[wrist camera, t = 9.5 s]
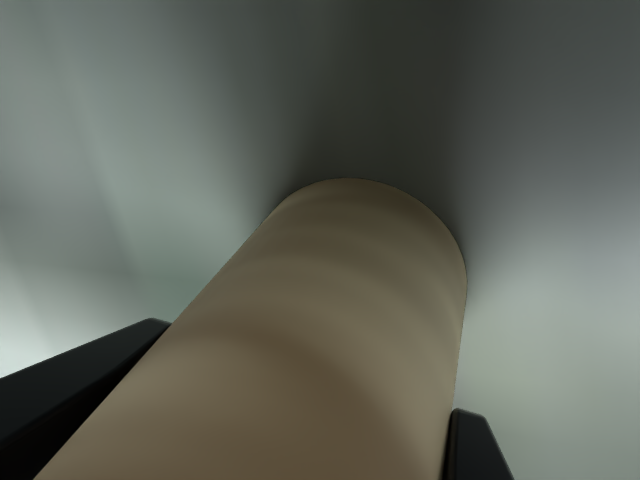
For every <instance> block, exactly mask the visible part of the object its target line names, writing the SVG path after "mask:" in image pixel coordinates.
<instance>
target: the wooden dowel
mask: <svg viewBox="0 0 640 480" xmlns="http://www.w3.org/2000/svg"><path fill="white" fill-rule="evenodd" d="M466 295H467V276H466V268H465V264H464V261H463V257H462V254H461V252H460V250H459V247H458V245H457V243H456V241H455V239H454V238H453V236H452V234H451V233H450V231H449V230H448V228H447V227H446V226H445V225H444V223H443V222H442V221H441V220H440V218H439V217H437V216H436V215H435V214H434V213H433V212H432V211H431V210H430V209H429V208H428V207H427V206H425V205H424V204H423V203H421V202H420V201H419V200H417V199H416V198H414V197H412V196H411V195H409V194H407V193H405V192H404V191H402V190H399V189H397V188H394V187H392V186H390V185H387V184H383V183H380V182H376V181H372V180H366V179H360V178H337V179H328V180H324V181H320V182H316V183H313V184H310V185H308V186H305V187H303V188H301V189H299V190H297V191H296V192H294V193H292V194H291V195H289V196H288V197H287V198H286V199H284V200H283V201H282V202H281V203H280V204H279V205H278V206H277V207H276V208H275V209H274V210H273V211H272V212H271V214H270V215H269V216H268V217H267V218H266V219H265V220H264V221H263V223H262V224H261V225H260V226H259V227H258V228H257V229H256V230H255V231H254V233H253V234H252V235H251V236H250V237H249V238H248V239H247V240H246V242H245V243H244V244H243V245H242V246H241V247H240V248H239V249H238V251H237V252H236V253H235V254H234V255H233V256H232V257H231V258H230V259H229V261H228V262H227V263H226V264H225V265H224V266H223V267H222V268H221V270H220V271H219V272H218V273H217V274H216V275H215V276H214V277H213V279H212V280H211V281H210V282H209V283H208V284H207V285H206V286H205V287H204V289H203V290H202V291H201V292H200V293H199V294H198V295H197V296H196V298H195V299H194V300H193V301H192V302H191V303H190V304H189V305H188V307H187V308H186V309H185V310H184V311H183V312H182V313H181V314H180V315H179V317H178V318H177V319H176V320H175V321H174V322H173V323H172V324H171V326H170V327H169V328H168V329H167V330H166V331H165V332H164V333H163V335H162V336H161V337H160V338H159V339H158V340H157V341H156V342H155V344H154V345H153V346H152V347H151V348H150V349H149V350H148V351H147V352H146V354H145V355H144V356H143V357H142V358H141V359H140V360H139V361H138V363H137V364H136V365H135V366H134V367H133V368H132V369H131V370H130V372H129V373H128V374H127V375H126V376H125V377H124V378H123V379H122V380H121V382H120V383H119V384H118V385H117V386H116V387H115V388H114V389H113V391H112V392H111V393H110V394H109V395H108V396H107V397H106V398H105V400H104V401H103V402H102V403H101V404H100V405H99V406H98V407H97V408H96V410H95V411H94V412H93V413H92V414H91V415H90V416H89V417H88V419H87V420H86V421H85V422H84V423H83V424H82V425H81V426H80V428H79V429H78V430H77V431H76V432H75V433H74V434H73V435H72V436H71V438H70V439H69V440H68V441H67V442H66V443H65V444H64V445H63V447H62V448H61V449H60V450H59V451H58V452H57V453H56V454H55V456H54V457H53V458H52V459H51V460H50V461H49V462H48V463H47V464H46V466H45V467H44V468H43V469H42V470H41V471H40V472H39V473H38V475H37V476H36V477H35V478H34V479H33V480H442V479H443V471H444V463H445V456H446V448H447V440H448V432H449V425H450V417H451V412H452V404H453V397H454V389H455V381H456V373H457V366H458V358H459V350H460V342H461V334H462V327H463V319H464V311H465V303H466Z"/></svg>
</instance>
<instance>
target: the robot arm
mask: <svg viewBox="0 0 640 480" xmlns="http://www.w3.org/2000/svg"><path fill="white" fill-rule="evenodd" d="M171 324H172V323H170V322H166V321H163V320H159V319H156V318H148V319H145V320H143V321H140V322H138V323H135V324H133V325H130V326H128V327H125V328H123V329H120V330H118V331H116V332H113V333H111V334H108V335H106V336H103V337H101V338H98V339H96V340H93V341H91V342H88V343H86V344H84V345H81V346H79V347H76V348H74V349H71V350H69V351H66V352H64V353H61V354H59V355H57V356H54V357H52V358H49V359H47V360H44V361H42V362H39V363H37V364H34V365H32V366H30V367H27V368H25V369H22V370H20V371H17V372H15V373H12V374H10V375H7V376H5V377H3V378H0V480H33V479H34V478H35V477H36V476H37V475H38V473H39V472H40V471H41V470H42V469H43V468H44V467H45V466H46V464H47V463H48V462H49V461H50V460H51V459H52V458H53V457H54V456H55V454H56V453H57V452H58V451H59V450H60V449H61V448H62V447H63V445H64V444H65V443H66V442H67V441H68V440H69V439H70V438H71V436H72V435H73V434H74V433H75V432H76V431H77V430H78V429H79V428H80V426H81V425H82V424H83V423H84V422H85V421H86V420H87V419H88V417H89V416H90V415H91V414H92V413H93V412H94V411H95V410H96V408H97V407H98V406H99V405H100V404H101V403H102V402H103V401H104V400H105V398H106V397H107V396H108V395H109V394H110V393H111V392H112V391H113V389H114V388H115V387H116V386H117V385H118V384H119V383H120V382H121V380H122V379H123V378H124V377H125V376H126V375H127V374H128V373H129V372H130V370H131V369H132V368H133V367H134V366H135V365H136V364H137V363H138V361H139V360H140V359H141V358H142V357H143V356H144V355H145V354H146V352H147V351H148V350H149V349H150V348H151V347H152V346H153V345H154V344H155V342H156V341H157V340H158V339H159V338H160V337H161V336H162V335H163V333H164V332H165V331H166V330H167V329H168V328H169V327H170V326H171ZM442 480H514V477H513V475H512V473H511V471H510V469H509V467H508V465H507V462H506V460H505V458H504V456H503V454H502V452H501V450H500V447H499V445H498V443H497V441H496V439H495V437H494V435H493V433H492V430H491V428H490V426H489V424H488V422H487V420H486V418H485V417H484V416H482V415H480V414H477V413H473V412H470V411H467V410H463V409H460V408H456V409H454V410H453V411H452V413H451V417H450V425H449V432H448V440H447V448H446V456H445V463H444V471H443V479H442Z"/></svg>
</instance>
